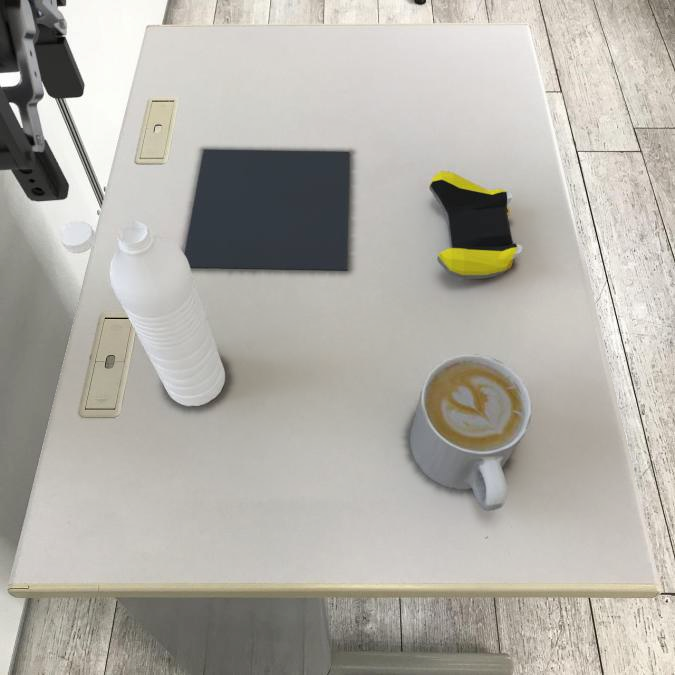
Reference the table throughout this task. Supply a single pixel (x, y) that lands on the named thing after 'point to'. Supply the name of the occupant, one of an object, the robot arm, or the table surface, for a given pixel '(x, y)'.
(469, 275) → the gaming controller
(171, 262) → the water bottle
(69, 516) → the table surface
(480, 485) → the coffee mug
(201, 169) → the mat
